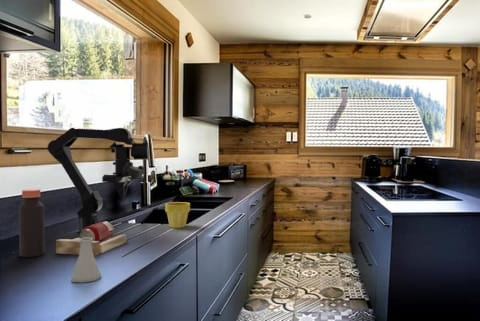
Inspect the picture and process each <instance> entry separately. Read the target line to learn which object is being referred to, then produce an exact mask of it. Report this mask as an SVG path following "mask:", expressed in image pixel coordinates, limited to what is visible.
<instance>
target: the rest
mask: <svg viewBox="0 0 480 321" xmlns="http://www.w3.org/2000/svg"><path fill="white" fill-rule="evenodd" d="M125 243H127V234H120V235H117V236H114V237H111V238H110V239H108V240H106V241H104V242H101V243H100V241H92V242H91V247H92V252H93V255H94V257H97V256H98V255H100V254H104V253H105V252H108V251H110V250H112V249H114V248H116V247H118V246H120V245H123V244H125ZM80 247H81V243H80V242H79V237H75V238H73V239H67V238H63V239H62V238H59V239H56V240H55V254H61V255H63V254H64V255H78V256H79V253H80Z"/></svg>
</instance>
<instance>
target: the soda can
mask: <svg viewBox="0 0 480 321" xmlns="http://www.w3.org/2000/svg"><path fill="white" fill-rule="evenodd" d="M114 231H115V230H114V226H113V225H112V224H111V222H109V221H106V220H105V221H104V220H103V221H100V222H99V221H98V223H97V224H94V225H91V226H88V227H86V228H84V229H83V230H82V232H81V233H79V239H81V238H87V237H88V238H92V239H93V240H92V241H100V243H101V242H104V241H106V240H109V239H112V238H113V236H114Z"/></svg>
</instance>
